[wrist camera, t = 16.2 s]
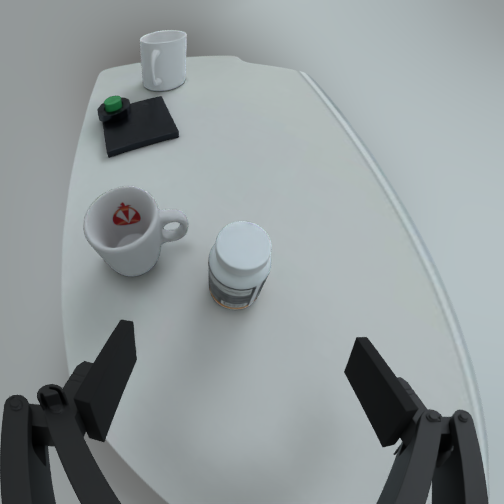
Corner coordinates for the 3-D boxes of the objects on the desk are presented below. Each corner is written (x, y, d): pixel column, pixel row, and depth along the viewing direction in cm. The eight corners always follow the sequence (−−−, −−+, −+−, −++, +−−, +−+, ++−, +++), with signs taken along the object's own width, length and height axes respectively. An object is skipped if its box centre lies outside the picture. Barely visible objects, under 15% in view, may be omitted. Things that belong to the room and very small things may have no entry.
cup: (184, 217, 36) (181, 174, 29) (196, 274, 32) (193, 237, 25) (104, 233, 33) (84, 193, 26) (107, 290, 30) (81, 259, 23)
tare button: (106, 114, 41) (104, 106, 39) (105, 106, 42) (103, 98, 40) (123, 109, 42) (121, 101, 40) (121, 101, 43) (120, 93, 42)
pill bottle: (233, 255, 34) (242, 204, 25) (269, 288, 33) (291, 244, 24) (198, 286, 32) (194, 241, 23) (235, 322, 30) (246, 289, 22)
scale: (105, 159, 39) (101, 145, 36) (99, 115, 44) (97, 103, 42) (178, 137, 43) (178, 123, 40) (160, 98, 48) (159, 86, 46)
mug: (184, 72, 55) (186, 28, 45) (186, 95, 50) (187, 45, 40) (144, 76, 53) (142, 32, 43) (140, 100, 48) (135, 50, 37)
